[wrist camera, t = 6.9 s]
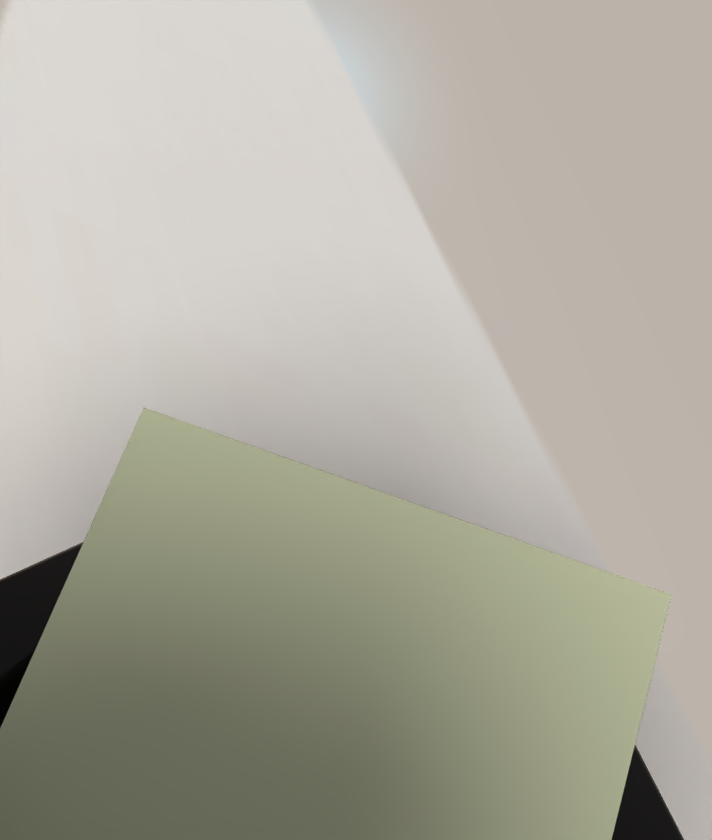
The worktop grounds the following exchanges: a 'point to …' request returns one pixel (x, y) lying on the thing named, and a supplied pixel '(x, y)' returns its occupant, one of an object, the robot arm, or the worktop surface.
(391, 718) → the block
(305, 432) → the worktop surface
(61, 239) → the worktop surface
